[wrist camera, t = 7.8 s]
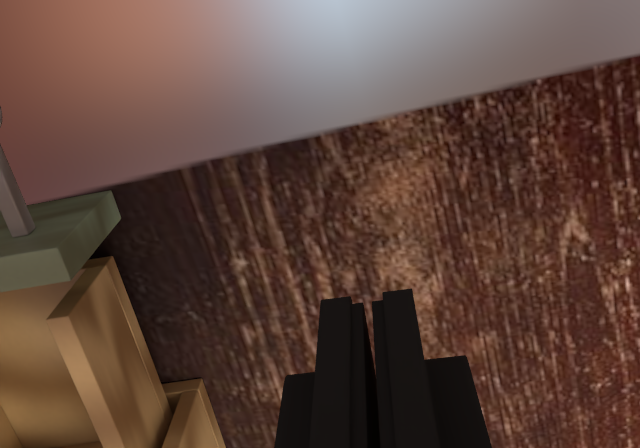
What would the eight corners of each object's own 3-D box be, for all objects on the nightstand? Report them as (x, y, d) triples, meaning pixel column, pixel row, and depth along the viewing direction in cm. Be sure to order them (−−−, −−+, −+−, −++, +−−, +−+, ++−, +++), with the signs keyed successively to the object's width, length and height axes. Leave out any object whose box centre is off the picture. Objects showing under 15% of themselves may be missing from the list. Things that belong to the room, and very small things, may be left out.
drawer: (-170, 103, 22) (-297, 143, 18) (63, 55, 21) (-11, 84, 17) (13, 449, 29) (-47, 540, 24) (196, 425, 28) (168, 515, 23)
